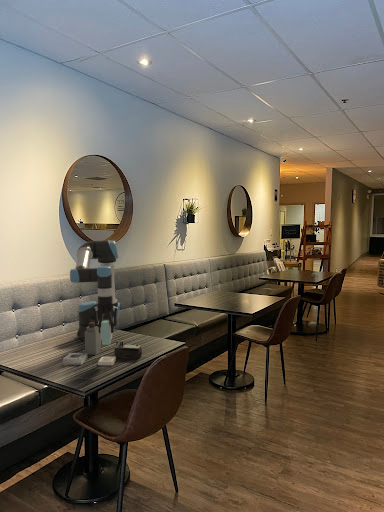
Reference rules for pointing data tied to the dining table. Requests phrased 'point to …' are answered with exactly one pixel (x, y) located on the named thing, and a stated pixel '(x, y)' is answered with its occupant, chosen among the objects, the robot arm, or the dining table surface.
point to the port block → (74, 359)
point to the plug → (105, 332)
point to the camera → (127, 351)
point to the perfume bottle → (92, 339)
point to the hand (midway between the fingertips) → (106, 338)
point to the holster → (107, 361)
